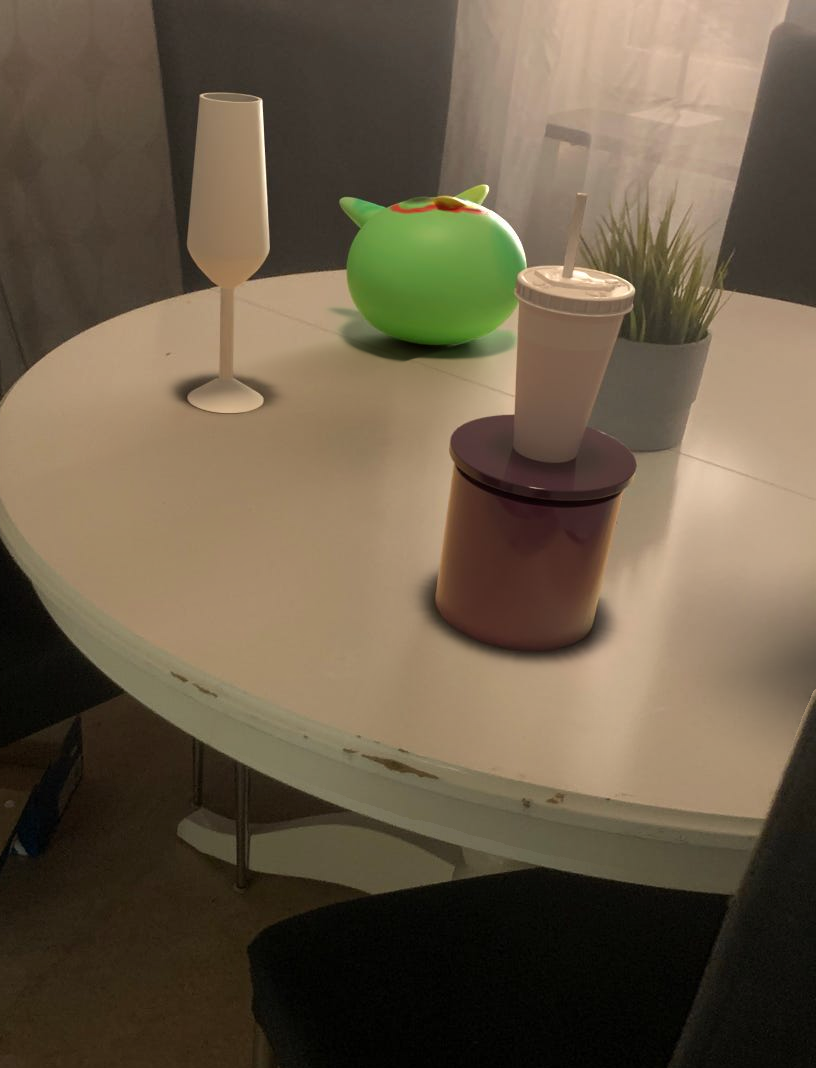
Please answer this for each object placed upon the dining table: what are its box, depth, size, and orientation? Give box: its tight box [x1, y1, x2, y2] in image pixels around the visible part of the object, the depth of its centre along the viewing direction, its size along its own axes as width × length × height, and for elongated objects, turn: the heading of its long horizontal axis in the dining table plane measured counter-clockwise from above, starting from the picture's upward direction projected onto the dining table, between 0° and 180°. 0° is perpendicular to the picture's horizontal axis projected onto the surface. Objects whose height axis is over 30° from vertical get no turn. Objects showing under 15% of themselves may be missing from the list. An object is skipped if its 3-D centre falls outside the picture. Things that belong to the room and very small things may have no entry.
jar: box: [434, 414, 638, 651], centre depth 68 cm, size 11×11×11 cm
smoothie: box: [513, 192, 636, 463], centre depth 61 cm, size 6×6×14 cm
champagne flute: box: [186, 92, 271, 414], centre depth 91 cm, size 7×7×24 cm
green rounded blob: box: [338, 184, 528, 346], centre depth 112 cm, size 18×17×15 cm
